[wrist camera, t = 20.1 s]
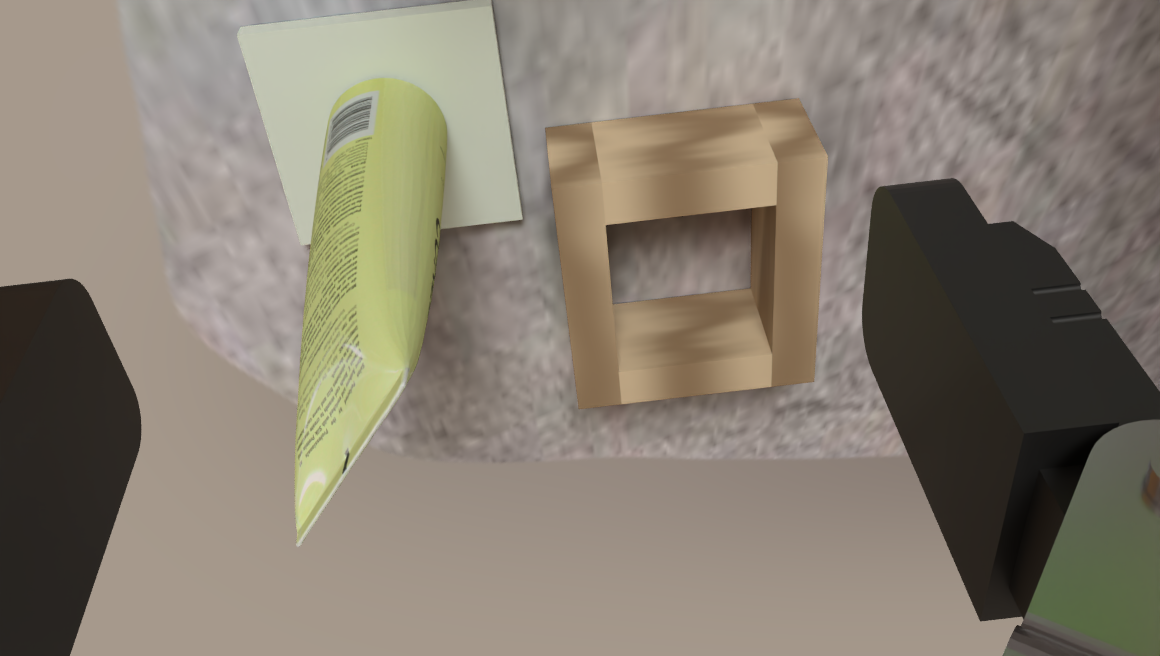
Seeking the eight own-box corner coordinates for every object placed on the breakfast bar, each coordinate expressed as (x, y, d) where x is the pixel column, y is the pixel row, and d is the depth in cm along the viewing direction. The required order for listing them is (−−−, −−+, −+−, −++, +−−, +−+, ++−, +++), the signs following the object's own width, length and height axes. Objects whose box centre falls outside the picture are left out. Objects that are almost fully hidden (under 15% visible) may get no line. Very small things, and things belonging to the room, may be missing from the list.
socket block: (798, 98, 47) (828, 156, 43) (790, 315, 55) (814, 381, 51) (545, 127, 47) (551, 188, 43) (571, 341, 55) (578, 409, 51)
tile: (491, -3, 43) (491, 5, 43) (522, 209, 50) (522, 219, 49) (240, 26, 43) (237, 35, 43) (303, 235, 50) (300, 245, 49)
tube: (465, 179, 48) (460, 522, 32) (352, 202, 48) (294, 552, 33) (430, 61, 44) (407, 383, 29) (308, 85, 44) (221, 418, 29)
